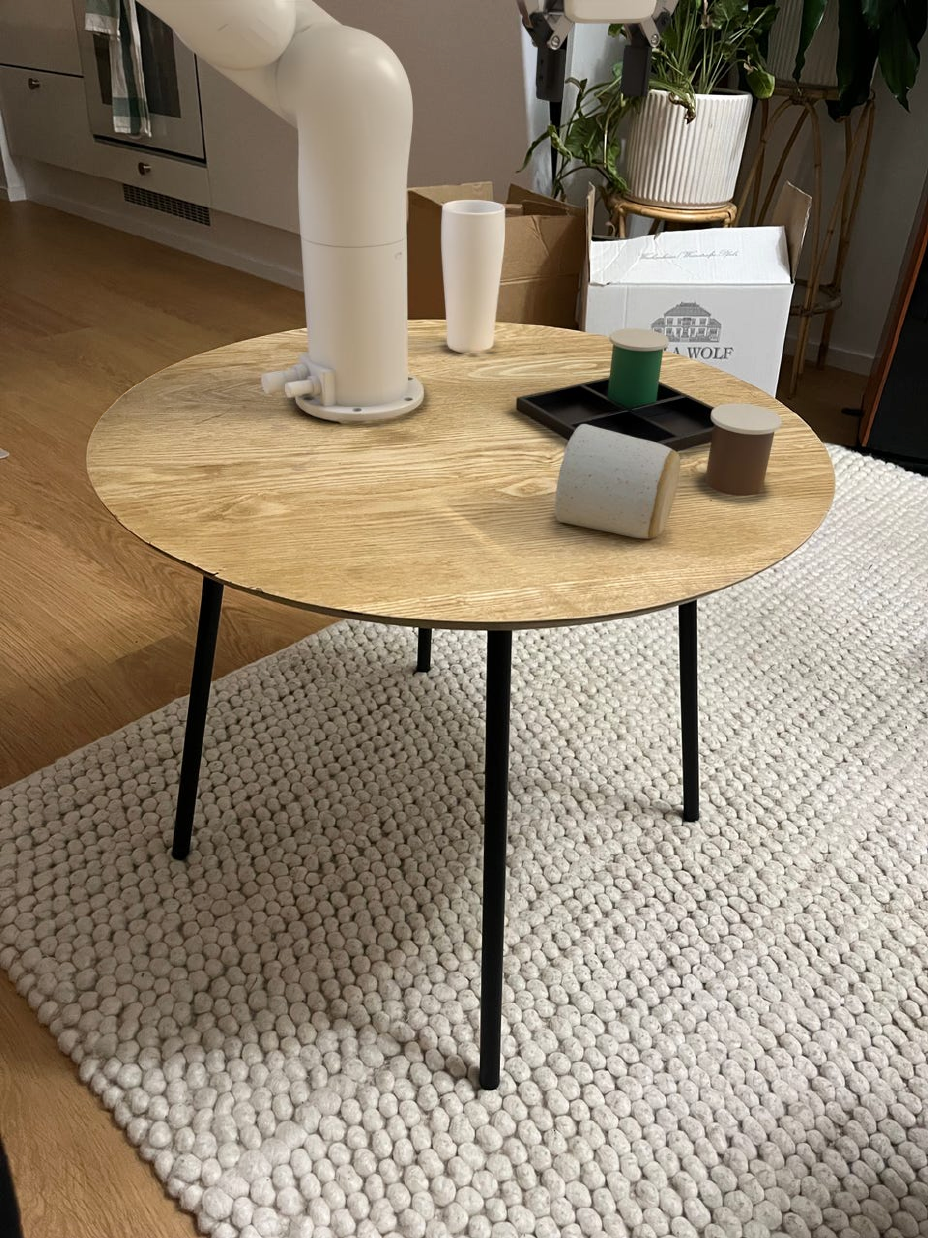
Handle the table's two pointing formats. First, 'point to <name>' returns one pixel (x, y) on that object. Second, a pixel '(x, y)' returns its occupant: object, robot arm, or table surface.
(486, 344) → the drinking glass
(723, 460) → the cylinder
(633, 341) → the cylinder
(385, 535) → the table surface
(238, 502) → the table surface
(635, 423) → the tray
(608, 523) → the ceramic mug
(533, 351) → the table surface
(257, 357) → the table surface
